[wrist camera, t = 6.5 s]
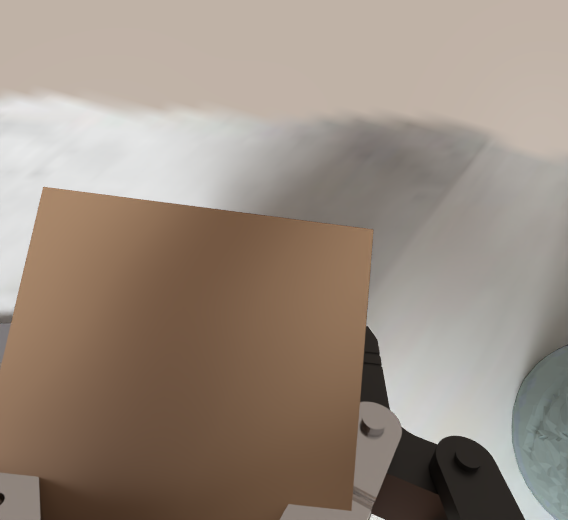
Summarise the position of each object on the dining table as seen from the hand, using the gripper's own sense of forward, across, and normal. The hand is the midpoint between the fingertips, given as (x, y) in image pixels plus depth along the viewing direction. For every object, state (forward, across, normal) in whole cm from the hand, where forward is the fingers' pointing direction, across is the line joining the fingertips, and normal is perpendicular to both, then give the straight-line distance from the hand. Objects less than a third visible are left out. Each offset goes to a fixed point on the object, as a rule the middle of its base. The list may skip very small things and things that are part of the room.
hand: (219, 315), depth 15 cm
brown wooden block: (+2, 0, +4) cm, 5 cm away
